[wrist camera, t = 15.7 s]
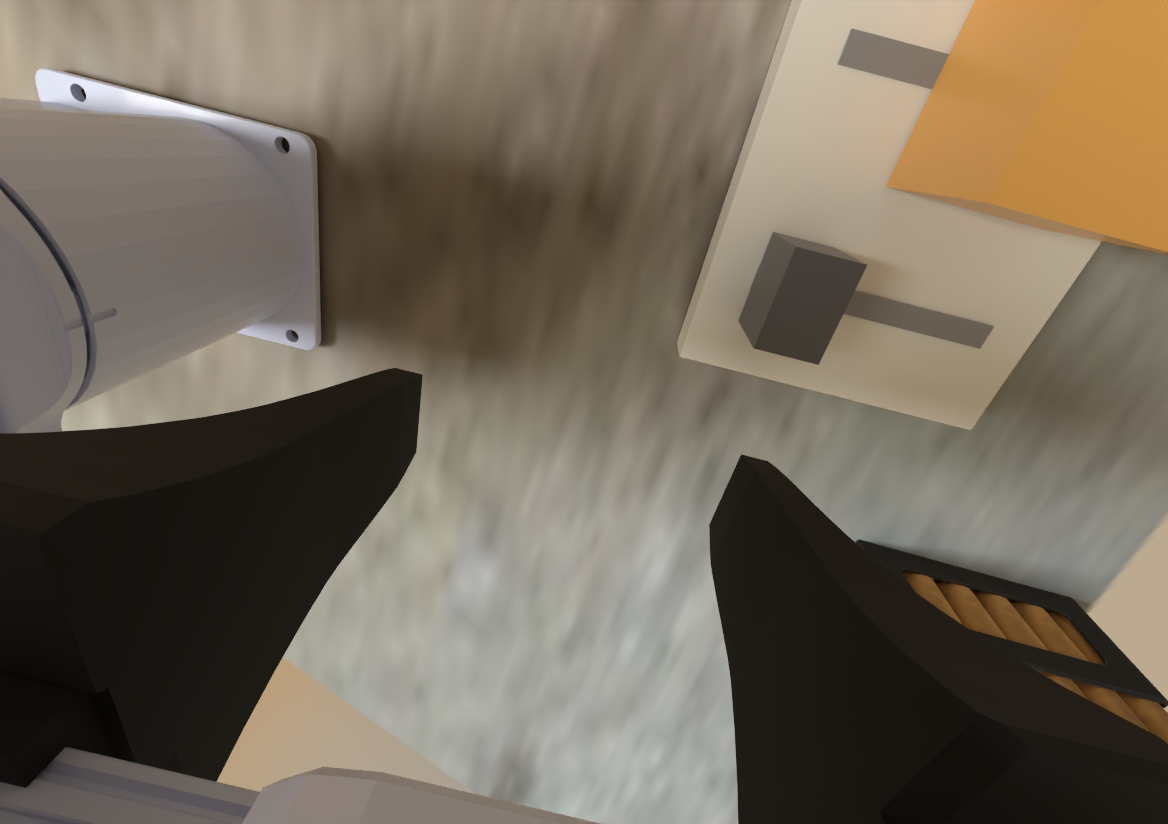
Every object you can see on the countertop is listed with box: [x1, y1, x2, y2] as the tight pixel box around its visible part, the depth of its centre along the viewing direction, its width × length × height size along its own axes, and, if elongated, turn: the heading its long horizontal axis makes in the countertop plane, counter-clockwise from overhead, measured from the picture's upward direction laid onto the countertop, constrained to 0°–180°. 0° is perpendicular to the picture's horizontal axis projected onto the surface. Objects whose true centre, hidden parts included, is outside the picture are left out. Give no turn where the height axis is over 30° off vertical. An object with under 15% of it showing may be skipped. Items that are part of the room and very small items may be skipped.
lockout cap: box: [886, 0, 1168, 255], centre depth 12 cm, size 5×6×5 cm
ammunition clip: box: [855, 540, 1168, 744], centre depth 18 cm, size 11×2×12 cm, turn 76°
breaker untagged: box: [738, 232, 867, 365], centre depth 16 cm, size 2×3×3 cm, turn 167°
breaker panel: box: [677, 0, 1102, 430], centre depth 16 cm, size 11×13×2 cm
